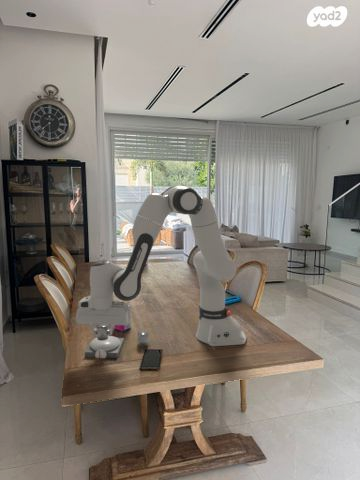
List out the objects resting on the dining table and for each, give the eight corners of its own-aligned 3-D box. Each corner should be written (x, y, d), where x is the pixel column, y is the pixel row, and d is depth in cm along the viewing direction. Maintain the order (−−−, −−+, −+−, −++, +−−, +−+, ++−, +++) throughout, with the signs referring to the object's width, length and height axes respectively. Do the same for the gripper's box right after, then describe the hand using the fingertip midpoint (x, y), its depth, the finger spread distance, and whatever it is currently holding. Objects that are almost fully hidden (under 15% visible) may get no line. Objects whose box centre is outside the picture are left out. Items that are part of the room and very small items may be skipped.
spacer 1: (109, 335, 134) (109, 324, 133) (106, 340, 129) (106, 329, 128) (99, 335, 134) (98, 324, 133) (95, 340, 129) (95, 328, 129)
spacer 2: (148, 342, 142) (148, 331, 141) (147, 347, 138) (147, 336, 137) (138, 342, 142) (138, 331, 141) (137, 346, 138) (136, 335, 137)
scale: (124, 344, 142) (123, 334, 141) (117, 361, 128) (116, 350, 128) (94, 343, 142) (94, 334, 141) (84, 360, 129) (83, 349, 128)
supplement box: (122, 325, 159) (122, 302, 157) (131, 328, 155) (130, 305, 154) (113, 329, 155) (113, 306, 153) (121, 332, 151) (121, 309, 149)
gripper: (129, 299, 132) (129, 331, 134) (79, 297, 132) (80, 329, 134) (126, 304, 125) (126, 338, 128) (73, 303, 126) (75, 336, 128)
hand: (102, 334), depth 131 cm, fingers closed on spacer 1, 4 cm apart
